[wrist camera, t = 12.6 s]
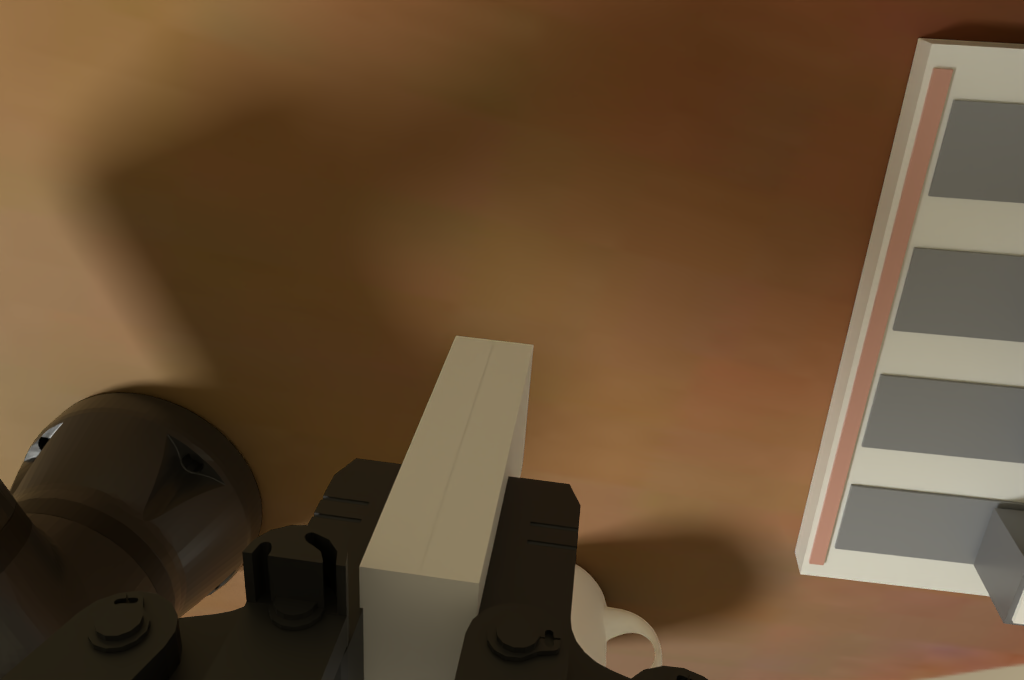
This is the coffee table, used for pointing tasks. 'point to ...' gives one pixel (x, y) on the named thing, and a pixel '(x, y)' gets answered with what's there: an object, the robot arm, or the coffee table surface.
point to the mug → (603, 620)
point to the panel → (932, 339)
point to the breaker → (1004, 563)
